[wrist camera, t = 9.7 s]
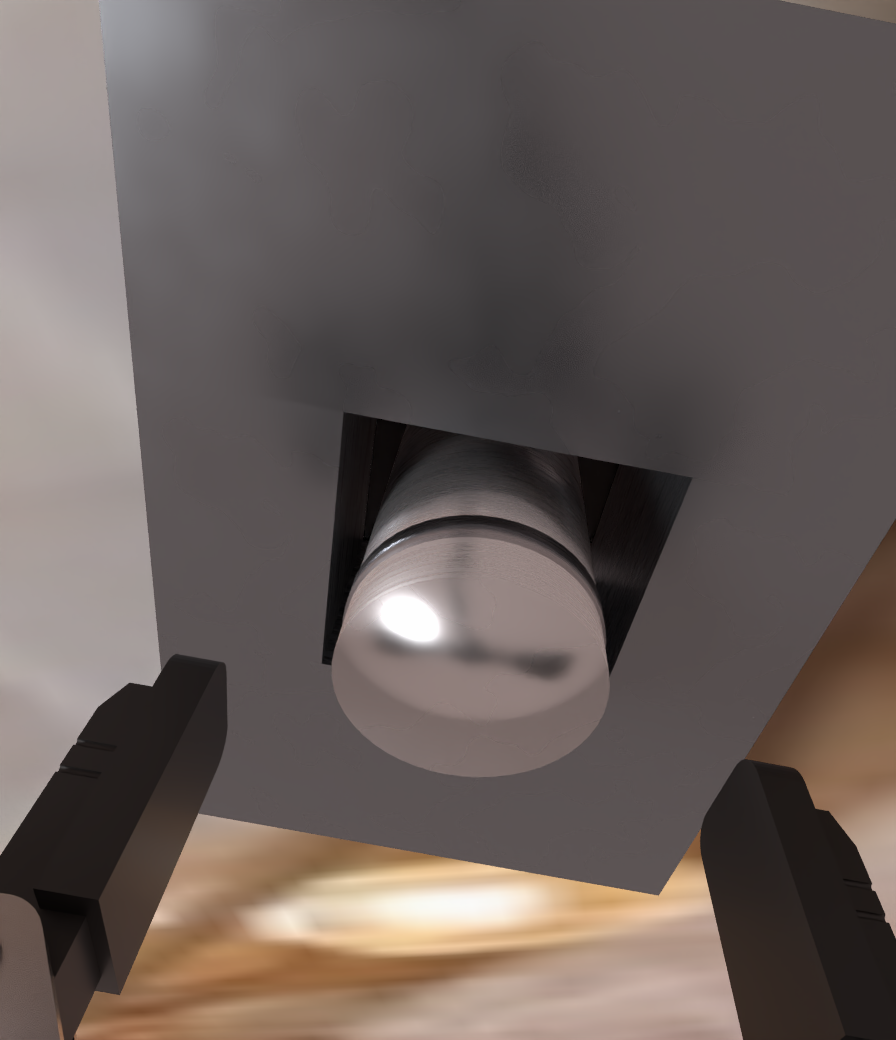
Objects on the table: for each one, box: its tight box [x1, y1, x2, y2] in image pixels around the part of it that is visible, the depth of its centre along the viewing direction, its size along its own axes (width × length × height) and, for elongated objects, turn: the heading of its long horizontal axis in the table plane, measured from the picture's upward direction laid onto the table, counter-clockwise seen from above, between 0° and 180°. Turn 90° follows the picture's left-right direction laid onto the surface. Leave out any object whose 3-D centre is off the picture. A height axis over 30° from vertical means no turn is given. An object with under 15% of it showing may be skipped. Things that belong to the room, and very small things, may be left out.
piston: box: [332, 424, 610, 777], centre depth 15 cm, size 5×5×8 cm
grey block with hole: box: [99, 0, 896, 895], centre depth 16 cm, size 20×14×5 cm
